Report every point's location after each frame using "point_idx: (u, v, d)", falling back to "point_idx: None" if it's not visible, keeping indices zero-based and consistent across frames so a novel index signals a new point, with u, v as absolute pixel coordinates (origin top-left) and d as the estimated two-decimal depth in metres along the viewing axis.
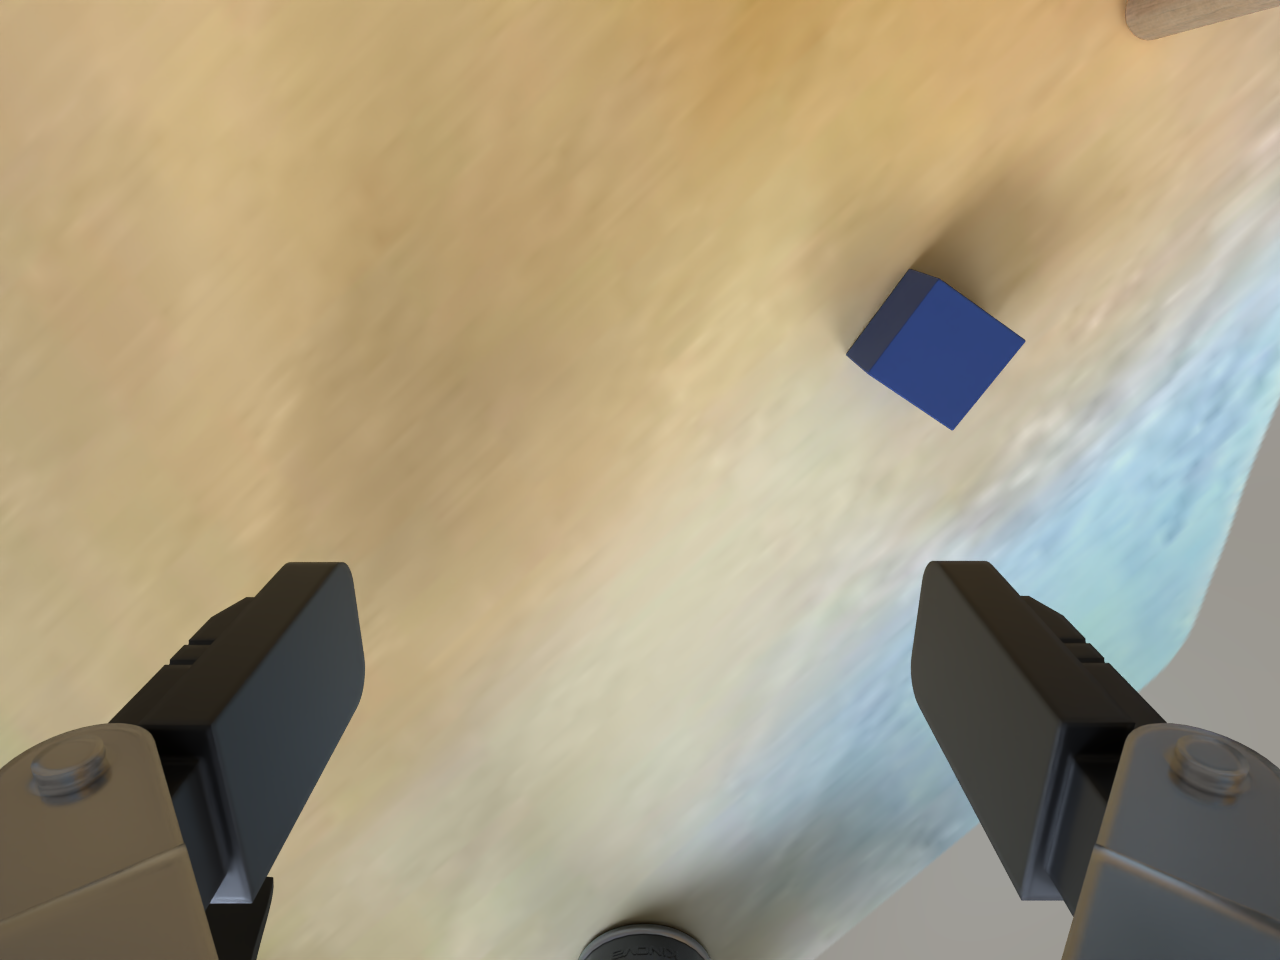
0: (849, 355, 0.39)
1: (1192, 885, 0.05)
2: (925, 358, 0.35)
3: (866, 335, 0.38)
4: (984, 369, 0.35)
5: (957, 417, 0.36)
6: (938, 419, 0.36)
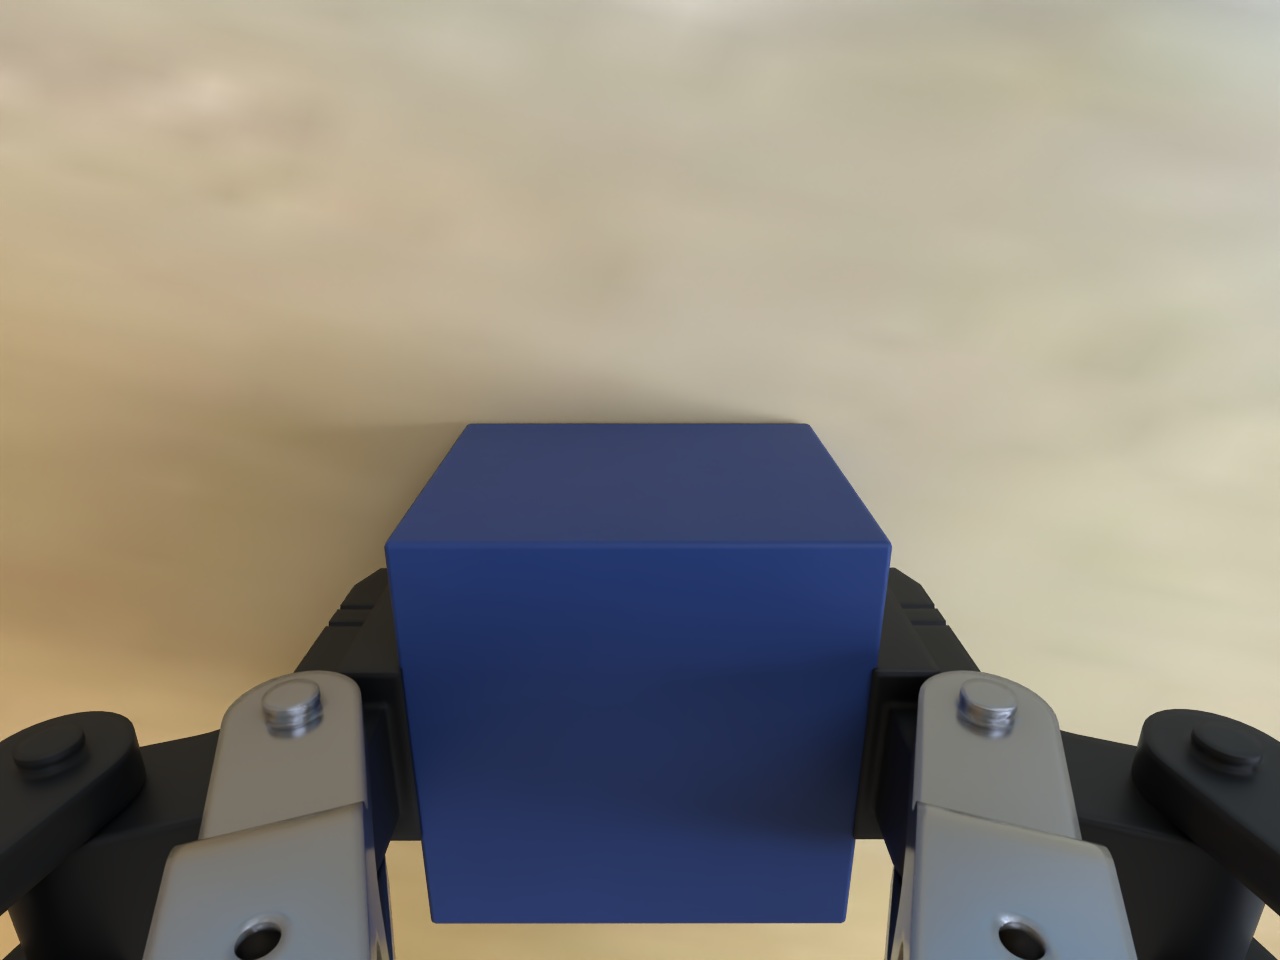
0: None
1: (1000, 823, 0.05)
2: (686, 810, 0.09)
3: None
4: (588, 608, 0.08)
5: (828, 567, 0.08)
6: (877, 627, 0.08)
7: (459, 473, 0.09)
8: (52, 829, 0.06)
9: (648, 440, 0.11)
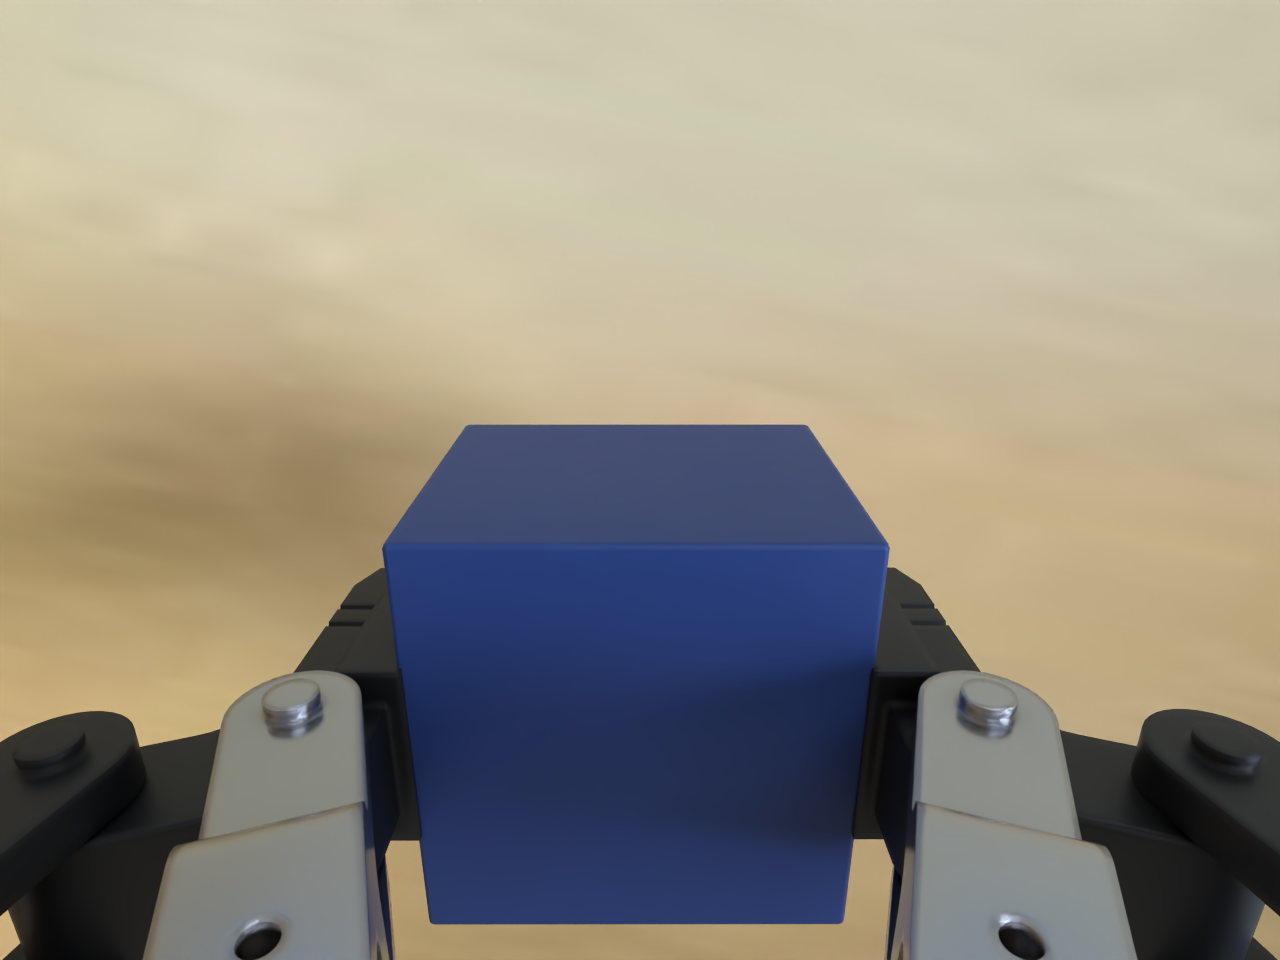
0: None
1: (1000, 823, 0.05)
2: (685, 811, 0.09)
3: None
4: (586, 609, 0.08)
5: (825, 568, 0.08)
6: (874, 628, 0.08)
7: (457, 474, 0.09)
8: (53, 829, 0.06)
9: (647, 441, 0.11)
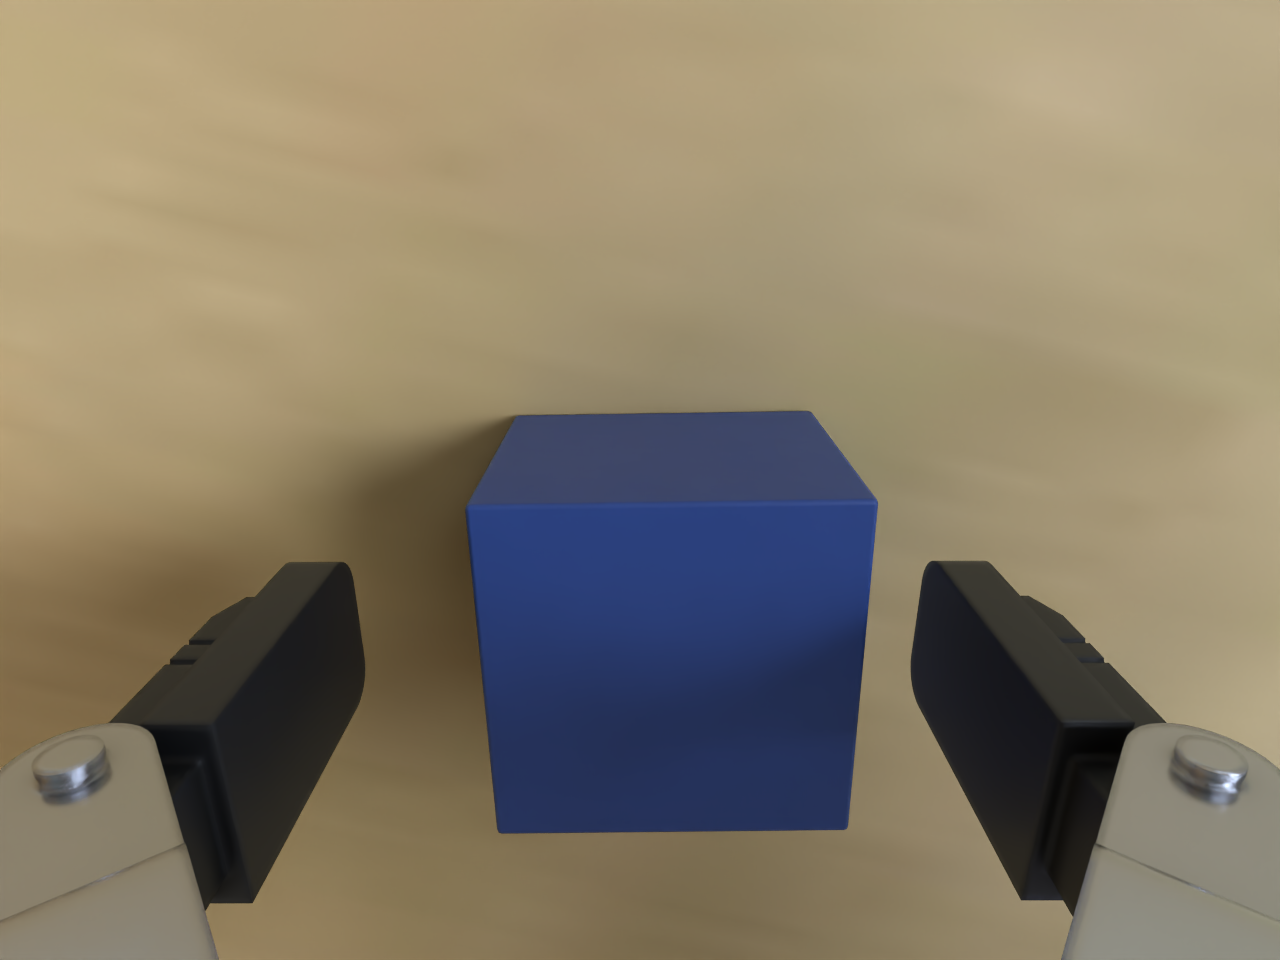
0: None
1: (1192, 885, 0.05)
2: (711, 730, 0.11)
3: None
4: (630, 557, 0.10)
5: (825, 520, 0.09)
6: (867, 570, 0.10)
7: (516, 454, 0.11)
8: None
9: (673, 426, 0.12)
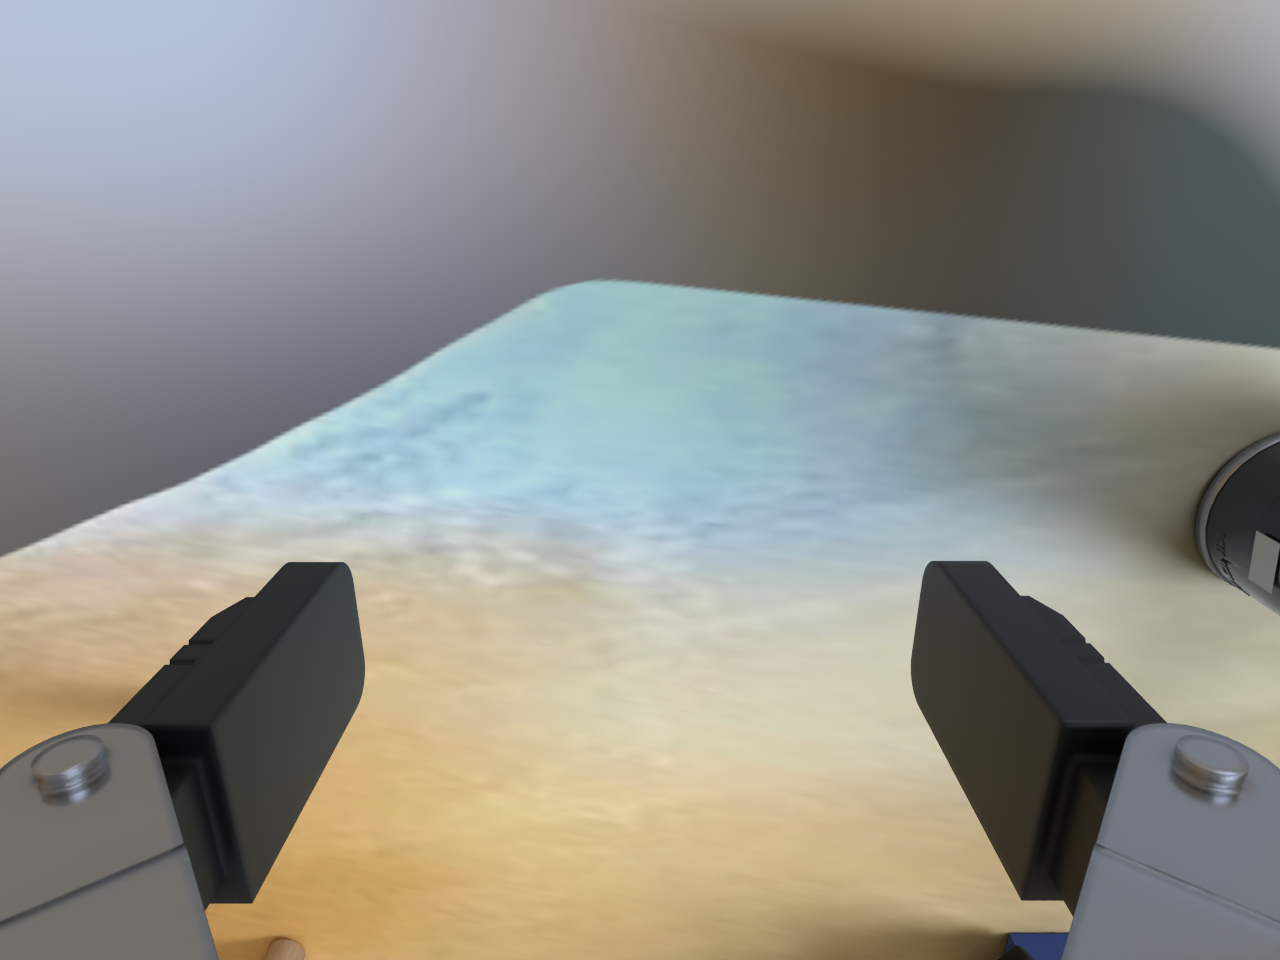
0: None
1: (1192, 885, 0.05)
2: None
3: None
4: None
5: None
6: None
7: None
8: None
9: (1053, 944, 0.53)
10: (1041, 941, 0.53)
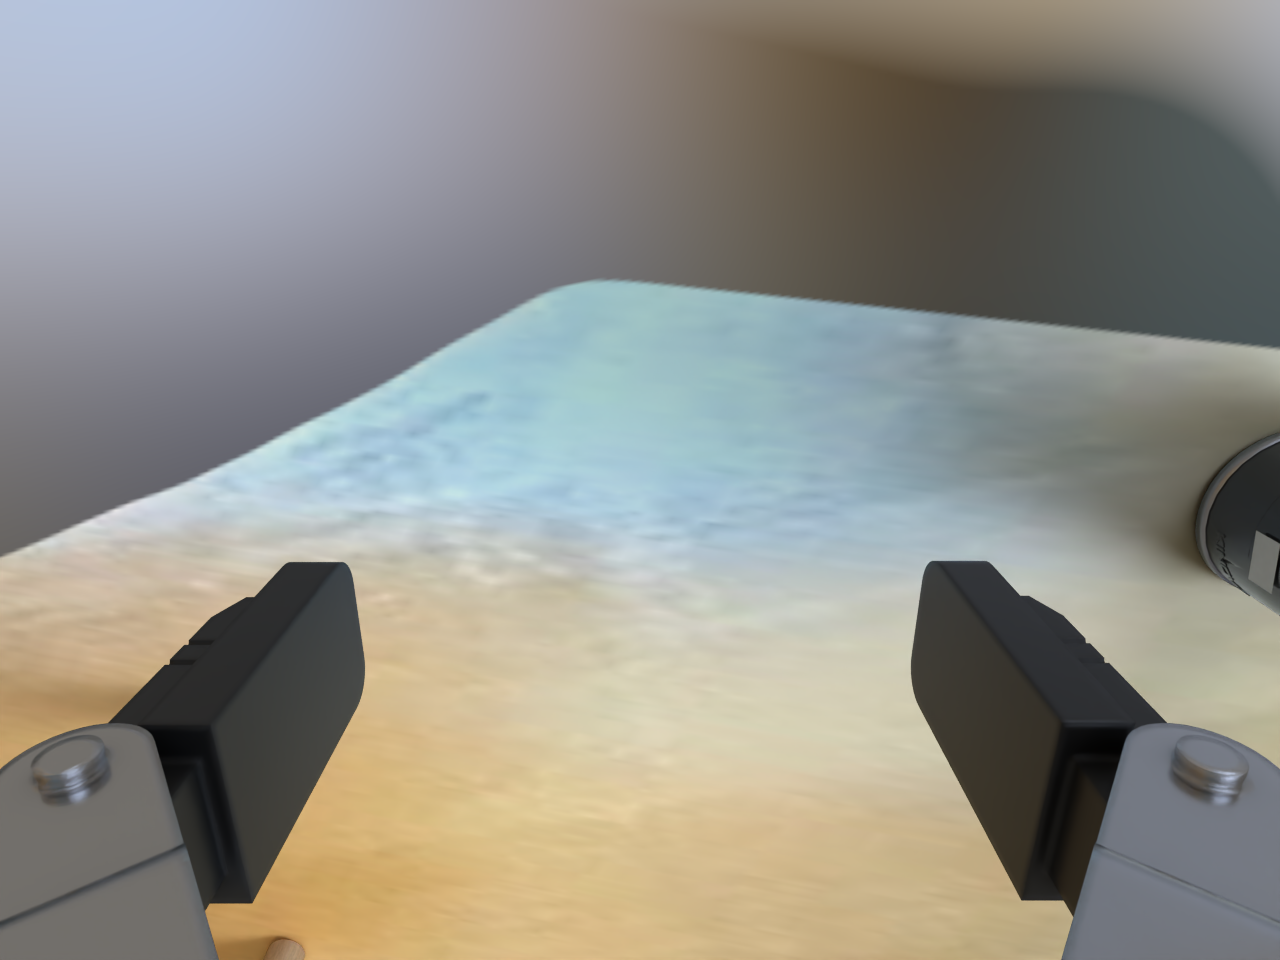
0: None
1: (1192, 885, 0.05)
2: None
3: None
4: None
5: None
6: None
7: None
8: None
9: None
10: None
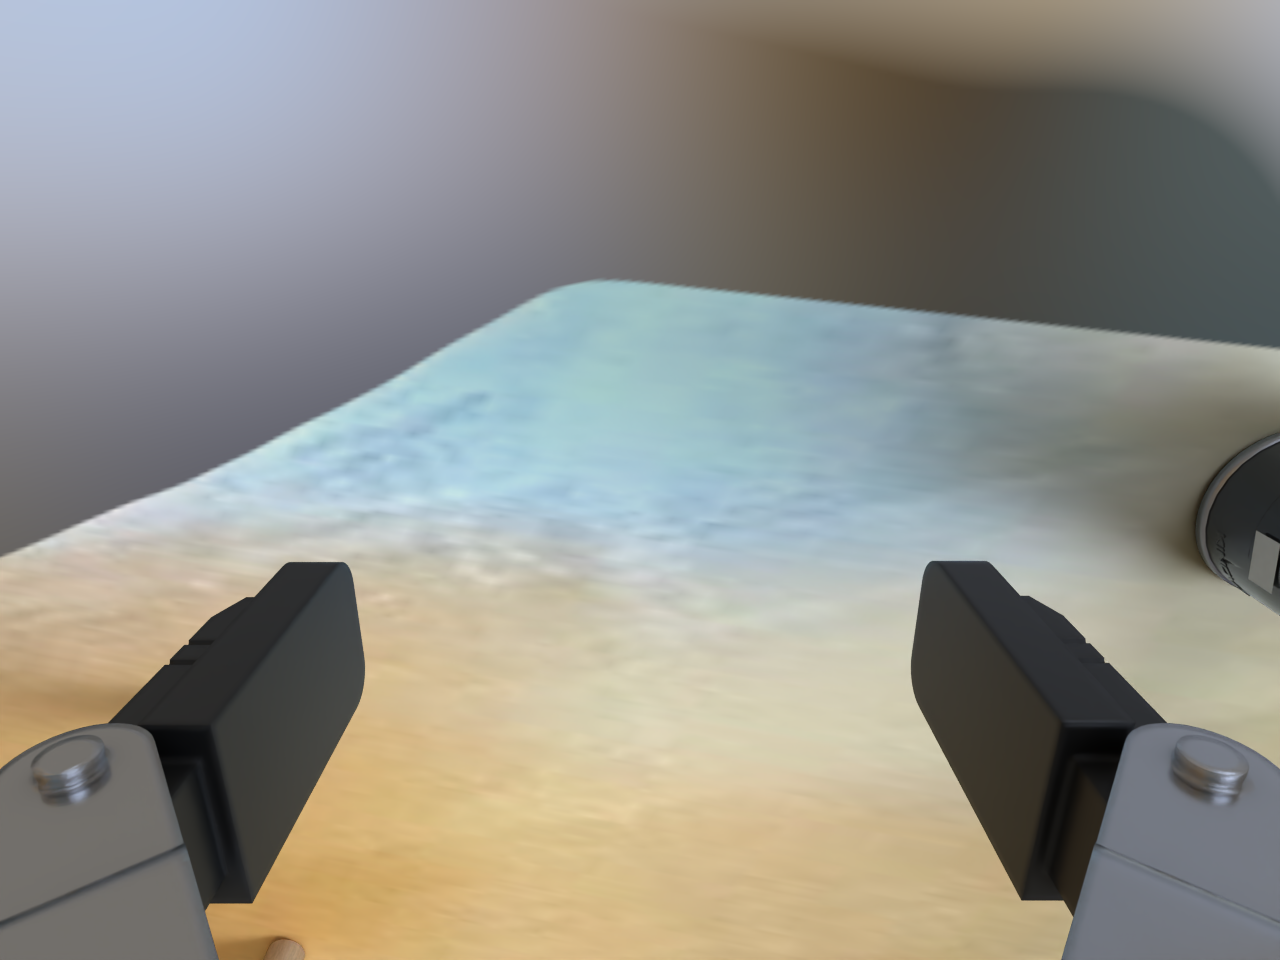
0: None
1: (1192, 885, 0.05)
2: None
3: None
4: None
5: None
6: None
7: None
8: None
9: None
10: None
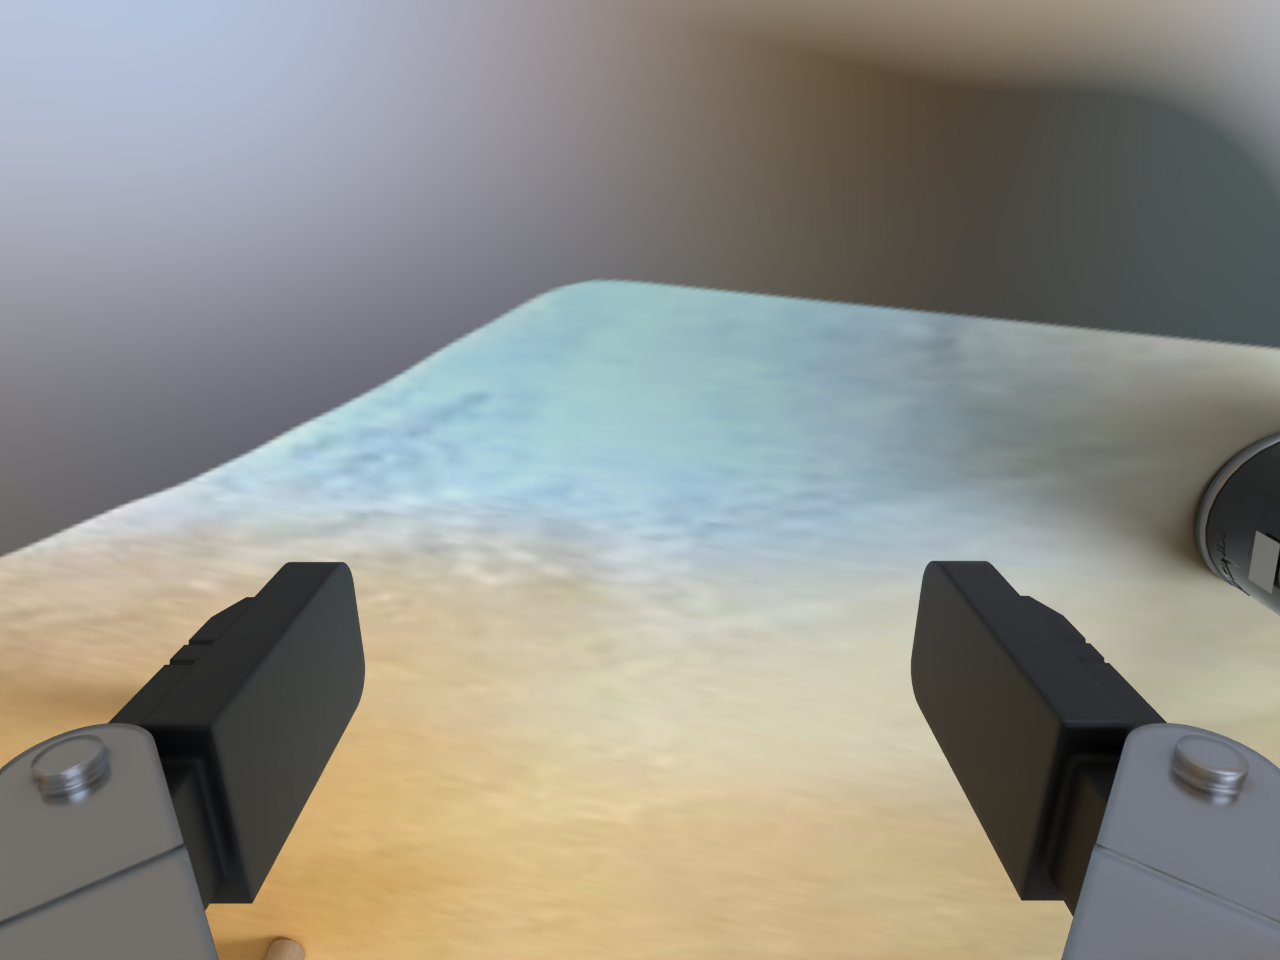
0: None
1: (1192, 885, 0.05)
2: None
3: None
4: None
5: None
6: None
7: None
8: None
9: None
10: None
